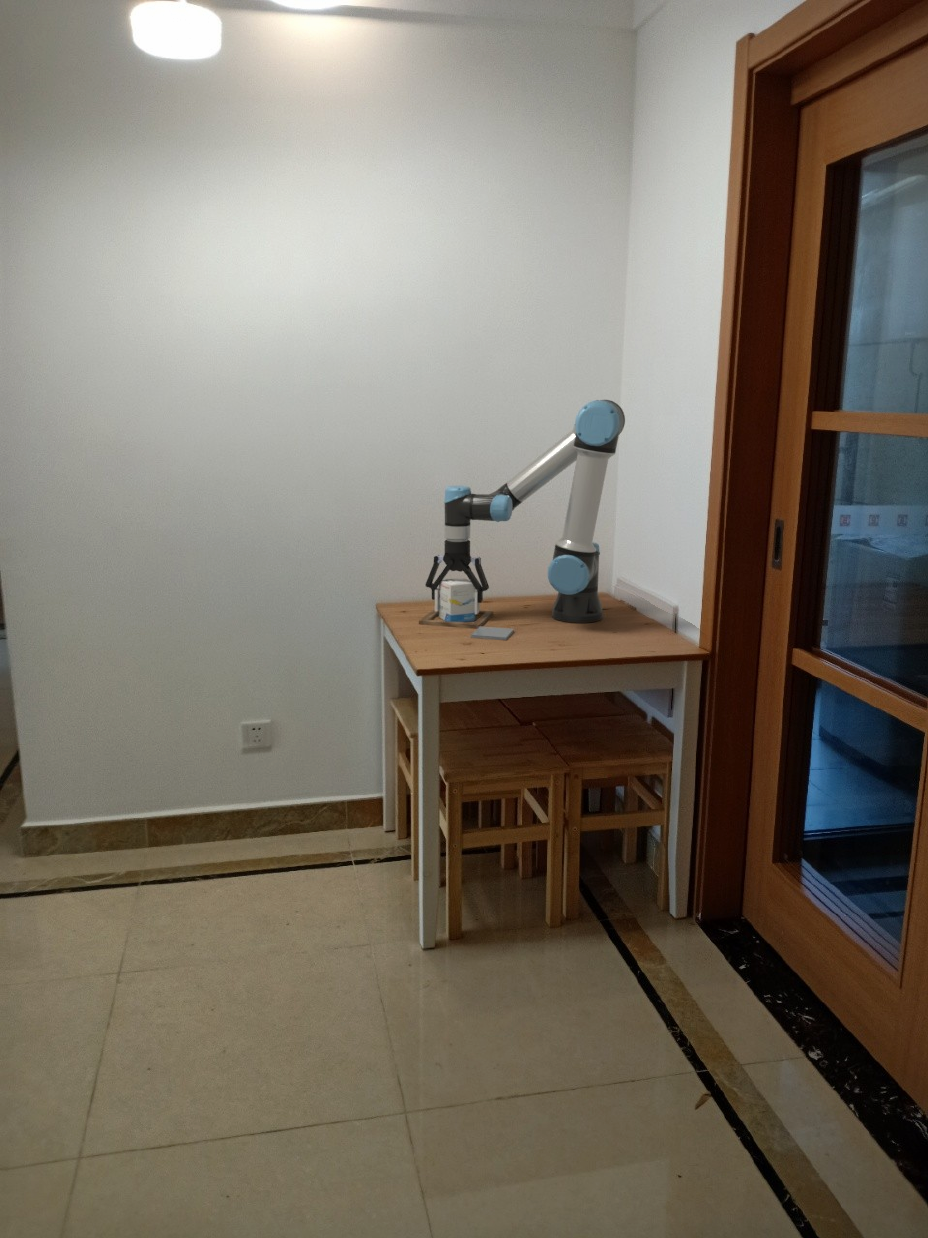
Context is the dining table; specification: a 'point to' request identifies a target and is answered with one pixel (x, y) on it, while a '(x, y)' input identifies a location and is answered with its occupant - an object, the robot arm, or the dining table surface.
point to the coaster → (492, 633)
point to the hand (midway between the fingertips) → (456, 612)
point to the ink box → (457, 600)
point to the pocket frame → (428, 621)
